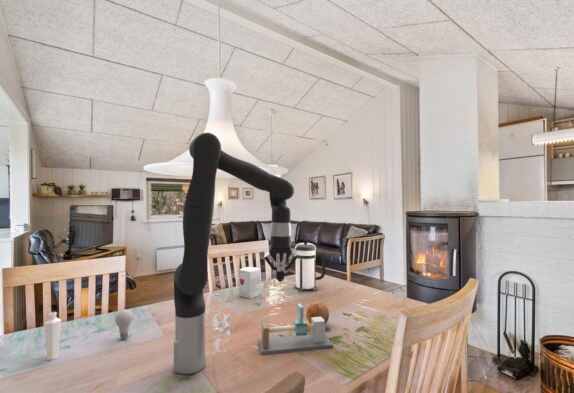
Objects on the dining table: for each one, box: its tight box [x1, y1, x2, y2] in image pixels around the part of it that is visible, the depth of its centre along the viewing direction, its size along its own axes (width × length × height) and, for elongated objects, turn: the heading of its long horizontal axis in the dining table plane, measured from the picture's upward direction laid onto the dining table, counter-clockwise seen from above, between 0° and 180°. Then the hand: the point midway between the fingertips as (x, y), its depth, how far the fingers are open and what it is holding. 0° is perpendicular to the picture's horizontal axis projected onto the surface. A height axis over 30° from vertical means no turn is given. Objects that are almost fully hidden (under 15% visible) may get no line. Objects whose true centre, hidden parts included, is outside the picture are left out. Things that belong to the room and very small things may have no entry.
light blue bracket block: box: [293, 303, 308, 336], centre depth 110 cm, size 4×4×10 cm
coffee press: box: [292, 238, 326, 293], centre depth 179 cm, size 17×16×30 cm
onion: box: [305, 300, 330, 325], centre depth 126 cm, size 10×10×10 cm
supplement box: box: [238, 266, 262, 300], centre depth 166 cm, size 9×9×15 cm
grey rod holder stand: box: [258, 317, 334, 355], centre depth 109 cm, size 26×10×8 cm, turn 101°
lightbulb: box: [114, 309, 134, 340], centre depth 114 cm, size 6×6×11 cm
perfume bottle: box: [43, 311, 62, 361], centre depth 101 cm, size 5×4×15 cm
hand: (280, 280), depth 110 cm, fingers closed
